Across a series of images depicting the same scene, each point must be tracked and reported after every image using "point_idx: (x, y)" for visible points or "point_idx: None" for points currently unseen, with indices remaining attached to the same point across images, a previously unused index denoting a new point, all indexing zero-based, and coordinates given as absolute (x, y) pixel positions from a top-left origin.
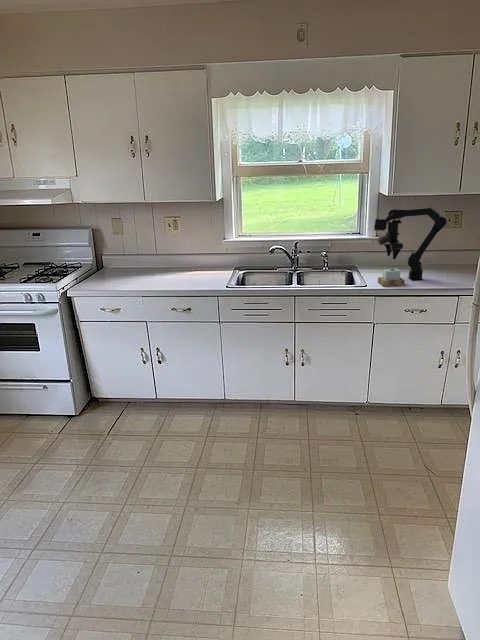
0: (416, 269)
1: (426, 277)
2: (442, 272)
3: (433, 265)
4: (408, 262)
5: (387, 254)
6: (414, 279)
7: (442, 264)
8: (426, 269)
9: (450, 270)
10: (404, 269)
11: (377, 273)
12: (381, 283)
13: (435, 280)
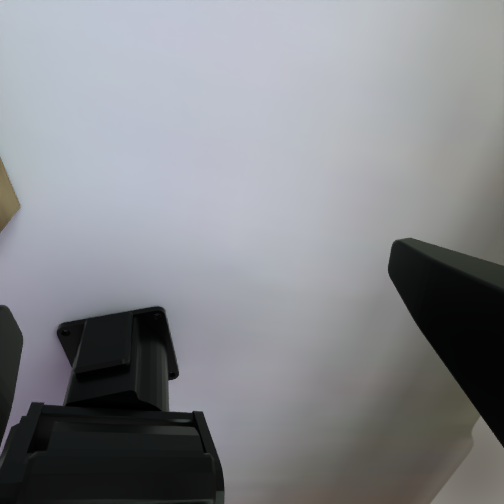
0: (3, 451)
1: (181, 409)
2: (287, 472)
3: (435, 443)
4: (26, 467)
5: (422, 251)
6: (77, 345)
7: (433, 471)
8: (374, 416)
9: (316, 495)
10: None
11: (404, 51)
12: None
13: None
